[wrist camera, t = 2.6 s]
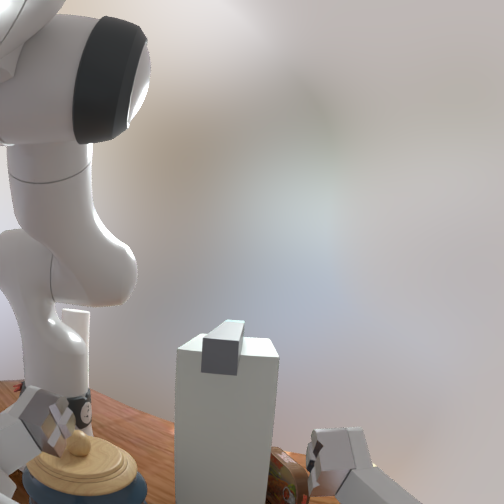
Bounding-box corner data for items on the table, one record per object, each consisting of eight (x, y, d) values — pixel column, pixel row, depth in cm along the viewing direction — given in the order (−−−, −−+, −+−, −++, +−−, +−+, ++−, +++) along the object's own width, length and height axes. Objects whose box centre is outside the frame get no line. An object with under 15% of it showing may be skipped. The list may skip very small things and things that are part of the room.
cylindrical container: (57, 408, 60) (56, 308, 64) (73, 401, 67) (73, 308, 71) (79, 416, 59) (79, 312, 63) (94, 408, 66) (95, 312, 70)
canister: (116, 606, 12) (80, 484, 14) (25, 545, 15) (-13, 418, 18) (174, 548, 24) (169, 432, 27) (90, 510, 28) (76, 399, 30)
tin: (250, 478, 45) (254, 438, 46) (267, 476, 46) (271, 437, 47) (289, 526, 31) (296, 481, 32) (309, 521, 32) (318, 477, 33)
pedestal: (177, 539, 26) (176, 348, 30) (195, 481, 42) (201, 333, 46) (259, 547, 26) (279, 357, 30) (256, 487, 42) (269, 338, 46)
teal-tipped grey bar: (200, 372, 21) (202, 337, 22) (225, 337, 44) (226, 319, 44) (236, 375, 21) (239, 340, 22) (243, 338, 44) (244, 321, 44)
